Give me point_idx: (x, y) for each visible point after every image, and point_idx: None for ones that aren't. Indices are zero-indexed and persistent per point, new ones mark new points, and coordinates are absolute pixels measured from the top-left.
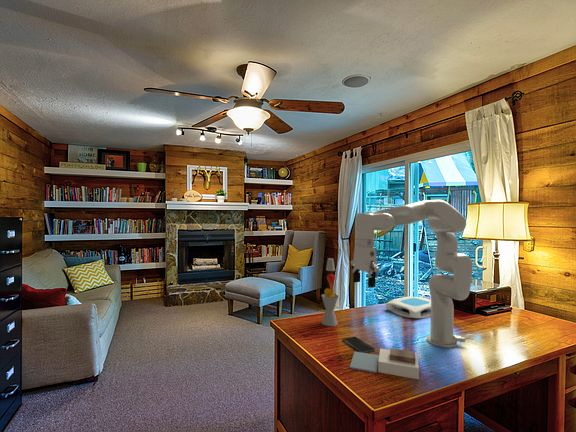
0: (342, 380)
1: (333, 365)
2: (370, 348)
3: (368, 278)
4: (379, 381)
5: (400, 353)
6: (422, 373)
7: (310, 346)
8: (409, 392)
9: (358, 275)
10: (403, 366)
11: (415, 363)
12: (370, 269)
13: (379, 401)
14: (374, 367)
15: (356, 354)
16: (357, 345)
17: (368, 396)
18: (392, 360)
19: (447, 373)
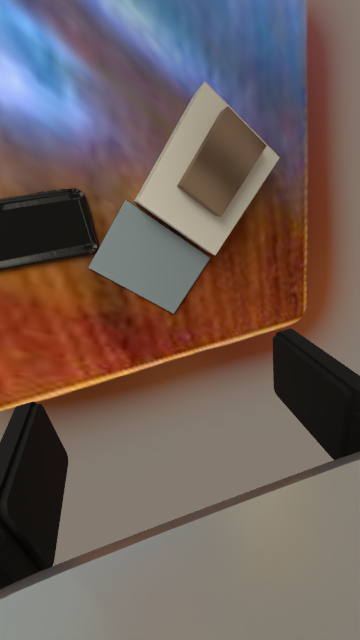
0: (215, 341)
1: (152, 344)
2: (69, 201)
3: (341, 455)
4: (240, 268)
5: (223, 174)
6: None
7: (34, 377)
8: (293, 224)
9: (30, 491)
10: (253, 195)
11: None
12: (279, 500)
13: (292, 300)
14: (190, 253)
15: (110, 270)
16: (40, 238)
17: (274, 312)
18: None
19: (266, 27)
